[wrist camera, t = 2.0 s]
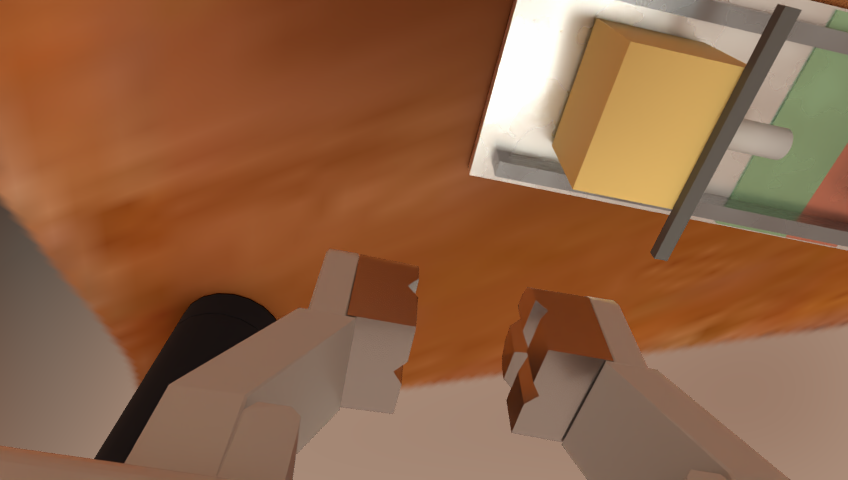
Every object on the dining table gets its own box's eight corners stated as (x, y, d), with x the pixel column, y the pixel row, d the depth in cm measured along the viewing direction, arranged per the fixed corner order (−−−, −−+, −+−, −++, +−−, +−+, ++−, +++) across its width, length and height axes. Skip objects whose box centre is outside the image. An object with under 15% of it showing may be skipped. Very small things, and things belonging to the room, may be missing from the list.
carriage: (616, -39, 22) (662, -24, 18) (816, 10, 23) (908, 35, 19) (537, 185, 28) (557, 240, 23) (702, 218, 28) (751, 277, 24)
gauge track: (532, -68, 23) (565, -58, 17) (1068, 63, 25) (1262, 111, 19) (468, 166, 29) (476, 235, 23) (910, 255, 31) (1023, 339, 25)
